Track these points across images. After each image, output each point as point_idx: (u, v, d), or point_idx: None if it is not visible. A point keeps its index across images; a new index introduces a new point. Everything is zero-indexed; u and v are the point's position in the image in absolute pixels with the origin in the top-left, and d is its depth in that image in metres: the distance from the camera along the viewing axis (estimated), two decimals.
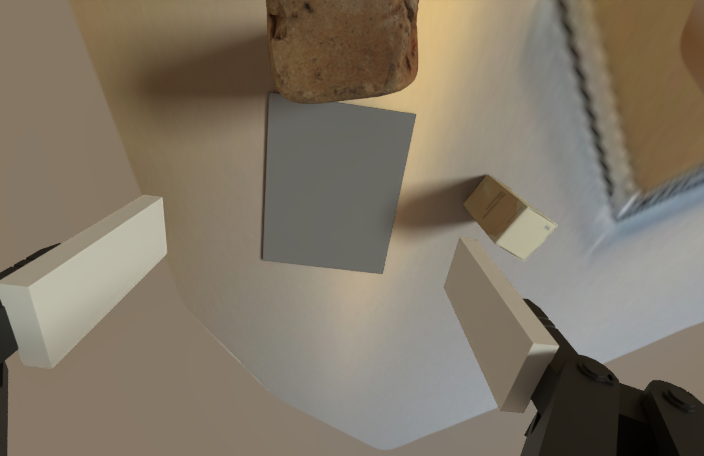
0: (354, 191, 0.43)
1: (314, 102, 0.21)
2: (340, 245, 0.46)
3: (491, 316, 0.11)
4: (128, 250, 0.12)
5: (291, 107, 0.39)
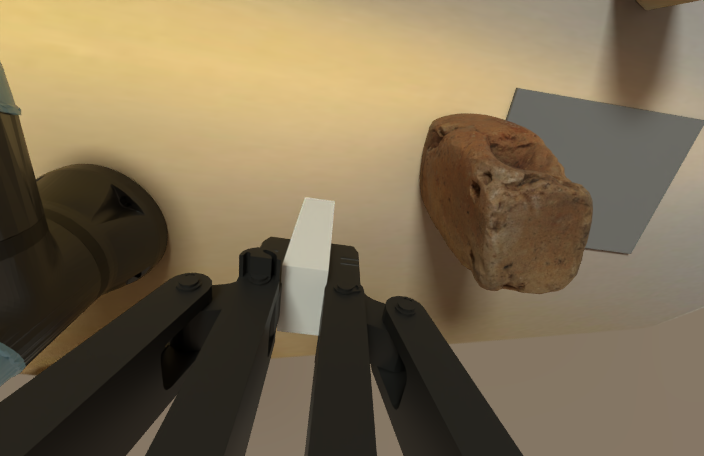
0: (585, 156, 0.39)
1: (579, 263, 0.22)
2: (645, 173, 0.40)
3: None
4: None
5: None
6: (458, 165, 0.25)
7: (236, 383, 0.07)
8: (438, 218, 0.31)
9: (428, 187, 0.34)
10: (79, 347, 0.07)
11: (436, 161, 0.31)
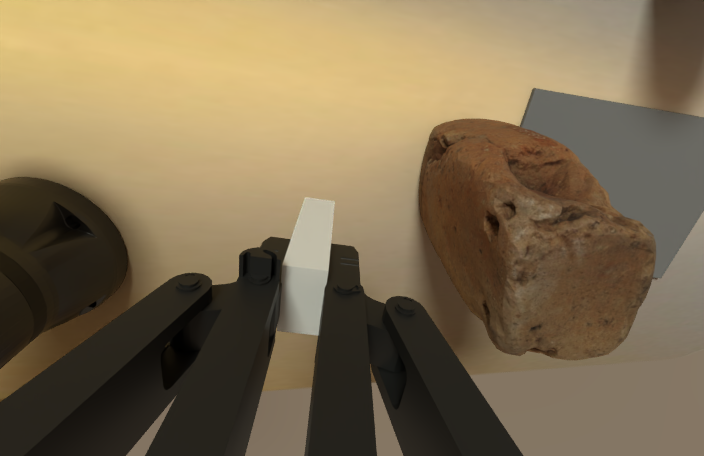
0: (612, 168, 0.33)
1: (631, 323, 0.17)
2: (681, 187, 0.34)
3: None
4: None
5: None
6: (468, 188, 0.19)
7: (237, 383, 0.07)
8: (441, 247, 0.25)
9: (428, 207, 0.28)
10: (79, 347, 0.07)
11: (438, 178, 0.25)
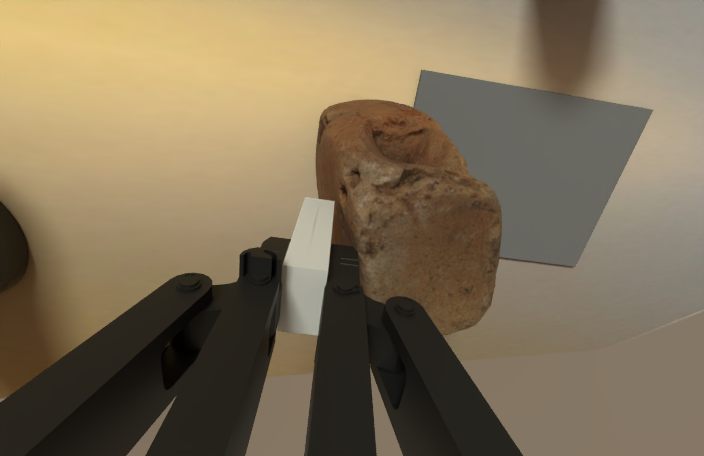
0: (511, 153, 0.33)
1: (493, 290, 0.16)
2: (584, 172, 0.34)
3: None
4: None
5: None
6: (329, 161, 0.18)
7: (237, 383, 0.07)
8: None
9: (319, 193, 0.27)
10: (80, 347, 0.07)
11: (319, 159, 0.23)
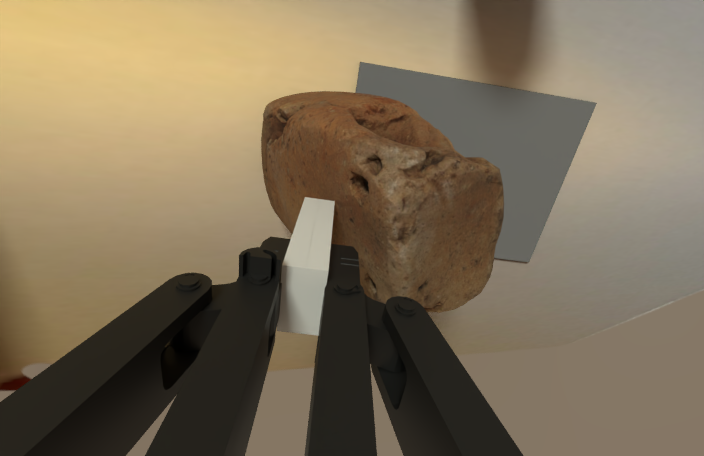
0: (456, 146, 0.32)
1: None
2: (532, 166, 0.33)
3: None
4: None
5: None
6: (323, 153, 0.17)
7: (237, 383, 0.07)
8: None
9: (280, 193, 0.25)
10: (79, 347, 0.07)
11: (285, 155, 0.22)
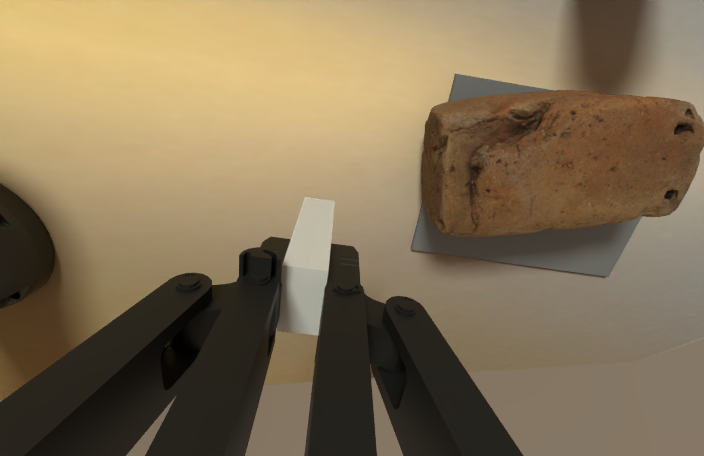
0: None
1: None
2: None
3: None
4: None
5: (429, 229, 0.34)
6: (644, 121, 0.23)
7: (237, 383, 0.07)
8: (569, 208, 0.26)
9: (520, 191, 0.25)
10: (79, 347, 0.07)
11: (557, 145, 0.24)
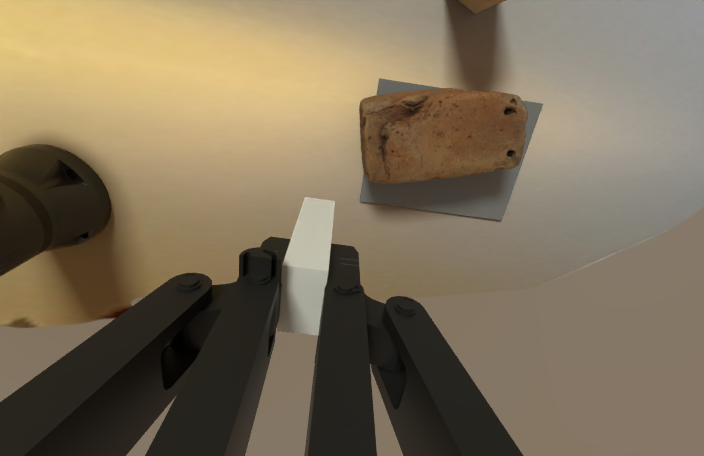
0: None
1: None
2: None
3: None
4: None
5: (371, 186, 0.49)
6: (483, 106, 0.38)
7: (237, 384, 0.07)
8: (446, 162, 0.41)
9: (413, 151, 0.40)
10: (79, 347, 0.07)
11: (432, 121, 0.39)
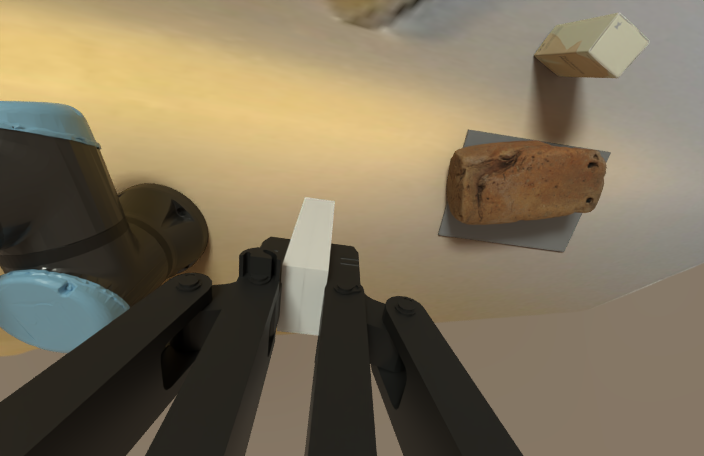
0: None
1: None
2: None
3: None
4: None
5: (450, 221, 0.55)
6: (571, 161, 0.44)
7: (237, 384, 0.07)
8: (533, 208, 0.46)
9: (505, 199, 0.45)
10: (79, 347, 0.07)
11: (525, 174, 0.44)
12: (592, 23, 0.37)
